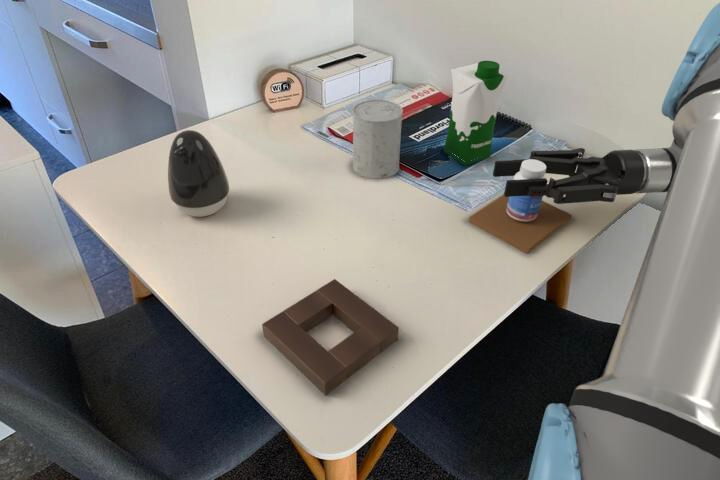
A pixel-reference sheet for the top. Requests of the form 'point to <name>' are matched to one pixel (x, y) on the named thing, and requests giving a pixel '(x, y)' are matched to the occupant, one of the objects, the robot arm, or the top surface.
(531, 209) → the pill bottle
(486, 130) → the milk carton
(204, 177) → the black egg-shaped figure
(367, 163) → the concrete cylinder
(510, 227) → the cork pad
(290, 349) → the socket base
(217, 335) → the top surface
